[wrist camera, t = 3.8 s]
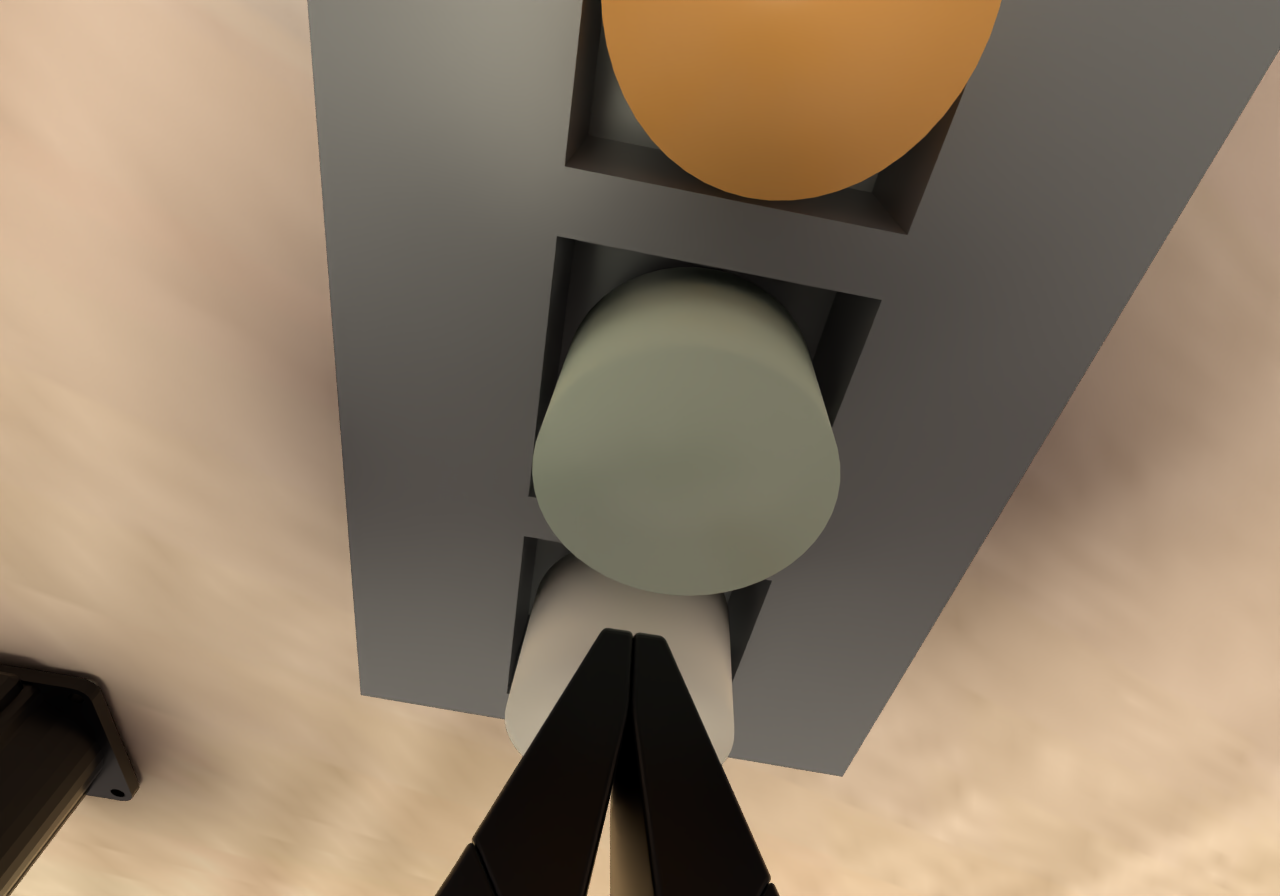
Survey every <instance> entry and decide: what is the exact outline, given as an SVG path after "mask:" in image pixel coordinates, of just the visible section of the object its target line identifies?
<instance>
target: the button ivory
mask: <svg viewBox="0 0 1280 896" xmlns="http://www.w3.org/2000/svg"><path fill="white" fill-rule="evenodd" d="M604 628H613V629H620V630H627V631H630V632H631V633H632V634H633V636H634V635H635V634H636V633H639V632H640V633H647V634H654V635H660V636H662V637H664V638H665V639H666V641H667V643H668V645H669V647H670V650H671V652H672V654H673V657H674V659H675V661H676V663H677V666H678V668H679V670H680V672H681V675H682V677H683V679H684V681H685V684H686V686H687V688H688V690H689V693H690V695H691V697H692V700H693V702H694V704H695V706H696V709H697V711H698V713H699V715H700V718H701V720H702V722H703V724H704V727H705V729H706V731H707V734H708V736H709V738H710V740H711V743H712V745H713V747H714V749H715V752H716V754H717V756H718V758H719V761H720V763H721V765H722V764H723V763H724V761H725V760H726V759H727V757H728V755H729V753H730V752H731V749H732V746H733V742H734V713H733V692H732V672H731V651H730V630H729V612H728V604H727V601H726V598H725V595H724V593H717V594H710V595H696V596H683V595H668V594H660V593H654V592H649V591H645V590H641V589H637V588H634V587H631V586H628V585H625V584H622V583H619V582H617V581H615V580H613V579H611V578H608V577H606V576H604V575H602V574H601V573H599V572H597V571H596V570H594V569H592V568H590V567H589V566H588V565H586V564H585V563H584V562H582V561H581V560H580V559H578V558H577V557H576V556H575V555H574V554H573V553H572V552H571V553H570V554H568V555H566V556H565V557H563V558H561V559H560V560H559V561H558V562H556V563H555V564H554V565H553V566H552V567H551V568H550V569H549V570H548V571H547V572H546V574H545V575H544V577H543V578H542V580H541V582H540V584H539V586H538V589H537V593H536V596H535V600H534V604H533V608H532V611H531V615H530V619H529V622H528V626H527V630H526V634H525V637H524V641H523V645H522V649H521V652H520V656H519V660H518V664H517V667H516V671H515V675H514V679H513V682H512V686H511V690H510V694H509V697H508V701H507V705H506V710H505V725H506V730H507V733H508V735H509V737H510V740H511V741H512V743H513V745H514V746H515V748H516V749H517V750H518V751H519V753H520V754H521V755H522V756H524V754H525V752H526V751H527V749H528V748H529V746H530V744H531V743H532V741H533V740H534V738H535V736H536V735H537V733H538V732H539V730H540V728H541V727H542V725H543V723H544V722H545V720H546V719H547V717H548V715H549V714H550V712H551V711H552V709H553V707H554V706H555V704H556V703H557V701H558V699H559V698H560V696H561V695H562V693H563V691H564V690H565V688H566V687H567V685H568V683H569V682H570V680H571V678H572V677H573V675H574V674H575V672H576V670H577V669H578V667H579V666H580V664H581V662H582V661H583V659H584V658H585V656H586V654H587V653H588V651H589V650H590V648H591V646H592V645H593V643H594V642H595V640H596V638H597V637H598V635H599V634H600V632H601V631H602V630H603V629H604Z"/></svg>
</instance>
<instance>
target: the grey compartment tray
mask: <svg viewBox="0 0 1280 896" xmlns="http://www.w3.org/2000/svg"><path fill="white" fill-rule="evenodd" d="M307 1H308V14H309V27H310V40H311V53H312V66H313V79H314V92H315V105H316V118H317V131H318V144H319V157H320V170H321V183H322V196H323V209H324V222H325V235H326V248H327V261H328V274H329V287H330V300H331V313H332V326H333V339H334V352H335V365H336V378H337V391H338V404H339V417H340V430H341V443H342V456H343V469H344V482H345V495H346V508H347V521H348V534H349V547H350V560H351V573H352V586H353V599H354V612H355V625H356V638H357V651H358V664H359V677H360V690H361V695H364V696H370V697H376V698H382V699H388V700H394V701H400V702H405V703H411V704H417V705H423V706H429V707H435V708H441V709H447V710H453V711H458V712H464V713H470V714H476V715H482V716H488V717H494V718H500V719H505V710H506V705H507V701H508V697H509V694H510V690H511V686H512V682H513V679H514V675H515V671H516V667H517V664H518V660H519V656H520V652H521V649H522V645H523V641H524V637H525V634H526V630H527V626H528V622H529V619H530V615H531V611H532V608H533V604H534V600H535V596H536V593H537V589H538V586H539V584H540V582H541V580H542V578H543V577H544V575H545V574H546V572H547V571H548V570H549V569H550V568H551V567H552V566H553V565H554V564H555V563H556V562H558V561H559V560H560V559H561V558H563V557H565V556H566V555H568V554H570V553H571V552H570V551H569V550H568V549H567V548H566V547H565V546H564V545H563V544H562V542H561V541H560V540H559V539H558V538H557V536H556V535H555V534H554V533H553V531H552V529H551V528H550V526H549V525H548V523H547V522H546V520H545V518H544V516H543V513H542V511H541V509H540V507H539V504H538V501H537V497H536V494H535V491H534V483H533V476H532V467H533V454H534V449H535V444H536V440H537V437H538V435H539V432H540V429H541V426H542V423H543V420H544V418H545V415H546V412H547V409H548V406H549V404H550V401H551V398H552V395H553V392H554V390H555V387H556V384H557V381H558V378H559V376H560V373H561V370H562V367H563V364H564V362H565V359H566V356H567V353H568V350H569V348H570V345H571V342H572V339H573V337H574V335H575V333H576V331H577V329H578V327H579V325H580V323H581V322H582V320H583V319H584V318H585V316H586V315H587V314H588V312H589V311H590V310H591V309H592V308H593V307H594V306H595V305H596V304H597V303H598V302H599V301H600V300H601V299H602V298H603V297H604V296H606V295H607V294H608V293H610V292H611V291H612V290H613V289H615V288H617V287H618V286H620V285H622V284H624V283H625V282H627V281H629V280H631V279H634V278H636V277H639V276H641V275H643V274H646V273H650V272H654V271H658V270H662V269H669V268H677V267H700V268H708V269H715V270H719V271H723V272H727V273H731V274H734V275H736V276H738V277H741V278H743V279H746V280H748V281H750V282H752V283H753V284H755V285H757V286H759V287H760V288H762V289H764V290H765V291H766V292H767V293H769V294H770V295H771V296H773V297H774V298H775V299H776V300H777V301H778V302H779V303H780V304H781V305H782V306H783V307H784V308H785V309H786V310H787V311H788V312H789V314H790V315H791V317H792V318H793V319H794V321H795V322H796V323H797V325H798V327H799V329H800V331H801V333H802V335H803V337H804V339H805V342H806V345H807V348H808V351H809V355H810V358H811V361H812V365H813V368H814V371H815V375H816V378H817V381H818V385H819V388H820V391H821V395H822V398H823V401H824V405H825V408H826V411H827V415H828V418H829V421H830V424H831V428H832V431H833V434H834V438H835V441H836V444H837V448H838V454H839V460H840V486H839V492H838V498H837V501H836V504H835V507H834V510H833V513H832V515H831V517H830V519H829V521H828V522H827V524H826V526H825V528H824V530H823V531H822V532H821V534H820V535H819V537H818V538H817V539H816V541H815V542H814V543H813V544H812V545H811V546H810V547H809V548H808V549H807V550H806V552H805V553H804V554H802V555H801V556H800V557H799V558H798V559H796V560H795V561H794V562H793V563H792V564H790V565H789V566H787V567H786V568H784V569H782V570H781V571H779V572H778V573H776V574H774V575H772V576H770V577H768V578H766V579H764V580H762V581H760V582H757V583H755V584H752V585H749V586H747V587H744V588H740V589H736V590H732V591H728V592H723V593H724V595H725V598H726V601H727V604H728V612H729V630H730V651H731V672H732V692H733V713H734V742H733V746H732V749H731V752H730V753H729V755H728V757H730V758H735V759H741V760H747V761H753V762H759V763H765V764H771V765H777V766H783V767H789V768H794V769H800V770H806V771H812V772H818V773H824V774H830V775H836V776H843V775H844V773H845V771H846V770H847V768H848V766H849V765H850V763H851V761H852V760H853V758H854V756H855V755H856V753H857V751H858V750H859V748H860V746H861V745H862V743H863V741H864V740H865V738H866V736H867V735H868V733H869V731H870V730H871V728H872V726H873V725H874V723H875V721H876V720H877V718H878V717H879V715H880V713H881V712H882V710H883V708H884V707H885V705H886V703H887V702H888V700H889V698H890V697H891V695H892V693H893V692H894V690H895V688H896V687H897V685H898V683H899V682H900V680H901V678H902V677H903V675H904V673H905V672H906V670H907V668H908V667H909V665H910V663H911V662H912V660H913V658H914V657H915V655H916V653H917V652H918V650H919V648H920V647H921V645H922V643H923V642H924V640H925V638H926V637H927V635H928V633H929V632H930V630H931V628H932V627H933V625H934V623H935V622H936V620H937V618H938V617H939V615H940V613H941V612H942V610H943V608H944V607H945V605H946V603H947V602H948V600H949V598H950V597H951V595H952V593H953V592H954V590H955V588H956V587H957V585H958V583H959V582H960V580H961V578H962V577H963V575H964V573H965V572H966V570H967V569H968V567H969V565H970V564H971V562H972V560H973V559H974V557H975V555H976V554H977V552H978V550H979V549H980V547H981V545H982V544H983V542H984V540H985V539H986V537H987V535H988V534H989V532H990V530H991V529H992V527H993V525H994V524H995V522H996V520H997V519H998V517H999V515H1000V514H1001V512H1002V510H1003V509H1004V507H1005V505H1006V504H1007V502H1008V500H1009V499H1010V497H1011V495H1012V494H1013V492H1014V490H1015V489H1016V487H1017V485H1018V484H1019V482H1020V480H1021V479H1022V477H1023V475H1024V474H1025V472H1026V470H1027V469H1028V467H1029V465H1030V464H1031V462H1032V460H1033V459H1034V457H1035V455H1036V454H1037V452H1038V450H1039V449H1040V447H1041V445H1042V444H1043V442H1044V440H1045V439H1046V437H1047V435H1048V434H1049V432H1050V430H1051V429H1052V427H1053V426H1054V424H1055V422H1056V421H1057V419H1058V417H1059V416H1060V414H1061V412H1062V411H1063V409H1064V407H1065V406H1066V404H1067V402H1068V401H1069V399H1070V397H1071V396H1072V394H1073V392H1074V391H1075V389H1076V387H1077V386H1078V384H1079V382H1080V381H1081V379H1082V377H1083V376H1084V374H1085V372H1086V371H1087V369H1088V367H1089V366H1090V364H1091V362H1092V361H1093V359H1094V357H1095V356H1096V354H1097V352H1098V351H1099V349H1100V347H1101V346H1102V344H1103V342H1104V341H1105V339H1106V337H1107V336H1108V334H1109V332H1110V331H1111V329H1112V327H1113V326H1114V324H1115V322H1116V321H1117V319H1118V317H1119V316H1120V314H1121V312H1122V311H1123V309H1124V307H1125V306H1126V304H1127V302H1128V301H1129V299H1130V297H1131V296H1132V294H1133V292H1134V291H1135V289H1136V287H1137V286H1138V284H1139V282H1140V281H1141V279H1142V278H1143V276H1144V274H1145V273H1146V271H1147V269H1148V268H1149V266H1150V264H1151V263H1152V261H1153V259H1154V258H1155V256H1156V254H1157V253H1158V251H1159V249H1160V248H1161V246H1162V244H1163V243H1164V241H1165V239H1166V238H1167V236H1168V234H1169V233H1170V231H1171V229H1172V228H1173V226H1174V224H1175V223H1176V221H1177V219H1178V218H1179V216H1180V214H1181V213H1182V211H1183V209H1184V208H1185V206H1186V204H1187V203H1188V201H1189V199H1190V198H1191V196H1192V194H1193V193H1194V191H1195V189H1196V188H1197V186H1198V184H1199V183H1200V181H1201V179H1202V178H1203V176H1204V174H1205V173H1206V171H1207V169H1208V168H1209V166H1210V164H1211V163H1212V161H1213V159H1214V158H1215V156H1216V154H1217V153H1218V151H1219V149H1220V148H1221V146H1222V144H1223V143H1224V141H1225V139H1226V138H1227V136H1228V135H1229V133H1230V131H1231V130H1232V128H1233V126H1234V125H1235V123H1236V121H1237V120H1238V118H1239V116H1240V115H1241V113H1242V111H1243V110H1244V108H1245V106H1246V105H1247V103H1248V101H1249V100H1250V98H1251V96H1252V95H1253V93H1254V91H1255V90H1256V88H1257V86H1258V85H1259V83H1260V81H1261V80H1262V78H1263V76H1264V75H1265V73H1266V71H1267V70H1268V68H1269V66H1270V65H1271V63H1272V61H1273V60H1274V58H1275V56H1276V55H1277V53H1278V51H1279V50H1280V0H1001V4H1000V8H999V11H998V14H997V17H996V20H995V23H994V26H993V29H992V32H991V35H990V38H989V40H988V42H987V44H986V47H985V49H984V51H983V53H982V55H981V57H980V60H979V62H978V64H977V66H976V68H975V70H974V71H973V73H972V75H971V76H970V78H969V80H968V81H967V83H966V85H965V87H964V88H963V90H962V92H961V93H960V94H959V96H958V97H957V98H956V100H955V101H954V103H953V104H952V105H951V107H950V108H949V109H948V111H947V112H946V113H945V115H944V116H943V117H942V118H941V119H940V120H939V121H938V123H937V124H936V125H935V126H934V127H933V128H932V129H931V130H930V131H929V132H928V134H927V135H926V136H925V137H924V138H923V139H921V140H920V141H919V142H918V143H917V144H916V145H915V146H914V147H912V148H911V149H910V150H909V151H908V152H907V153H906V154H904V155H903V156H902V157H900V158H899V159H897V160H896V161H895V162H893V163H892V164H890V165H889V166H888V167H886V168H885V169H883V170H882V171H880V172H878V173H876V174H874V175H872V176H871V177H869V178H867V179H865V180H863V181H862V182H859V183H857V184H854V185H852V186H849V187H847V188H845V189H842V190H840V191H837V192H833V193H829V194H825V195H822V196H818V197H814V198H806V199H799V200H775V201H769V200H762V199H754V198H747V197H743V196H739V195H736V194H732V193H728V192H725V191H723V190H720V189H718V188H716V187H713V186H711V185H709V184H706V183H704V182H703V181H701V180H699V179H698V178H696V177H694V176H693V175H691V174H689V173H688V172H686V171H685V170H684V169H682V168H681V167H680V166H679V165H677V164H676V163H675V162H674V161H672V160H671V159H670V158H669V157H667V156H666V154H665V153H664V152H663V151H662V150H661V149H660V148H659V147H658V146H657V145H656V144H655V143H654V142H653V141H652V140H651V139H650V137H649V136H648V134H647V133H646V132H645V130H644V129H643V128H642V126H641V125H640V123H639V122H638V121H637V119H636V118H635V116H634V114H633V112H632V110H631V108H630V107H629V105H628V103H627V101H626V99H625V98H624V96H623V93H622V91H621V88H620V86H619V83H618V81H617V78H616V76H615V73H614V70H613V67H612V63H611V59H610V56H609V52H608V48H607V45H606V38H605V32H604V25H603V19H602V3H601V0H307Z"/></svg>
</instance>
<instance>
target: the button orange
mask: <svg viewBox="0 0 1280 896" xmlns="http://www.w3.org/2000/svg"><path fill="white" fill-rule="evenodd" d="M601 3H602V19H603V25H604V32H605V38H606V45H607V48H608V52H609V56H610V59H611V63H612V67H613V70H614V73H615V76H616V78H617V81H618V83H619V86H620V88H621V91H622V93H623V96H624V98H625V99H626V101H627V103H628V105H629V107H630V108H631V110H632V112H633V114H634V116H635V118H636V119H637V121H638V122H639V123H640V125H641V126H642V128H643V129H644V130H645V132H646V133H647V134H648V136H649V137H650V139H651V140H652V141H653V142H654V143H655V144H656V145H657V146H658V147H659V148H660V149H661V150H662V151H663V152H664V153H665V154H666V156H667V157H669V158H670V159H671V160H672V161H674V162H675V163H676V164H677V165H679V166H680V167H681V168H682V169H684V170H685V171H686V172H688V173H689V174H691V175H693V176H694V177H696V178H698V179H699V180H701V181H703V182H704V183H706V184H709V185H711V186H713V187H716V188H718V189H720V190H723V191H725V192H728V193H732V194H736V195H739V196H743V197H747V198H754V199H762V200H769V201H775V200H799V199H806V198H814V197H818V196H822V195H825V194H829V193H833V192H837V191H840V190H842V189H845V188H847V187H849V186H852V185H854V184H857V183H859V182H862V181H863V180H865V179H867V178H869V177H871V176H872V175H874V174H876V173H878V172H880V171H882V170H883V169H885V168H886V167H888V166H889V165H890V164H892V163H893V162H895V161H896V160H897V159H899V158H900V157H902V156H903V155H904V154H906V153H907V152H908V151H909V150H910V149H911V148H912V147H914V146H915V145H916V144H917V143H918V142H919V141H920V140H921V139H923V138H924V137H925V136H926V135H927V134H928V132H929V131H930V130H931V129H932V128H933V127H934V126H935V125H936V124H937V123H938V121H939V120H940V119H941V118H942V117H943V116H944V115H945V113H946V112H947V111H948V109H949V108H950V107H951V105H952V104H953V103H954V101H955V100H956V98H957V97H958V96H959V94H960V93H961V92H962V90H963V88H964V87H965V85H966V83H967V81H968V80H969V78H970V76H971V75H972V73H973V71H974V70H975V68H976V66H977V64H978V62H979V60H980V57H981V55H982V53H983V51H984V49H985V47H986V44H987V42H988V40H989V38H990V35H991V32H992V29H993V26H994V23H995V20H996V17H997V14H998V11H999V8H1000V4H1001V0H601Z"/></svg>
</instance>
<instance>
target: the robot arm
mask: <svg viewBox="0 0 1280 896" xmlns="http://www.w3.org/2000/svg"><path fill="white" fill-rule="evenodd" d="M138 789H139V783H138V780H137V778H136V775H135V773H134V770H133V768H132V766H131V763H130V761H129V758H128V756H127V753H126V751H125V748H124V746H123V743H122V741H121V738H120V736H119V734H118V731H117V729H116V726H115V724H114V721H113V719H112V716H111V714H110V711H109V709H108V707H107V704H106V702H105V699H104V697H103V694H102V692H101V690H100V688H99V687H98V686H97V685H96V684H94V683H93V682H91V681H89V680H87V679H83V678H79V677H73V676H67V675H61V674H55V673H49V672H43V671H37V670H31V669H25V668H19V667H13V666H7V665H1V664H0V896H10V895H11V893H12V892H13V891H14V889H15V888H16V887H17V885H18V884H19V883H20V881H21V880H22V879H23V877H24V876H25V875H26V873H27V872H28V871H29V870H30V868H31V867H32V866H33V864H34V863H35V862H36V860H37V859H38V858H39V856H40V855H41V854H42V852H43V851H44V850H45V848H46V847H47V846H48V844H49V843H50V842H51V840H52V839H53V838H54V837H55V835H56V834H57V833H58V831H59V830H60V829H61V827H62V826H63V825H64V823H65V822H66V821H67V819H68V818H69V817H70V815H71V814H72V813H73V811H74V810H75V809H76V807H77V806H78V805H79V803H80V802H81V801H82V800H83V798H84V797H85V796H86V795H90V796H96V797H102V798H108V799H114V800H120V801H128V800H131V799H132V797H133V796H134V795H135V793H136V792H137V790H138ZM610 795H611V805H610V896H779V894H778V891H777V889H776V887H775V885H774V884H773V883H769V882H770V880H771V876H770V874H769V872H768V869H767V867H766V865H765V863H764V860H763V858H762V856H761V853H760V851H759V849H758V847H757V844H756V842H755V840H754V838H753V835H752V833H751V831H750V829H749V826H748V824H747V822H746V820H745V817H744V815H743V813H742V810H741V808H740V806H739V804H738V801H737V799H736V797H735V795H734V792H733V790H732V788H731V786H730V783H729V781H728V779H727V777H726V774H725V772H724V770H723V767H722V765H721V763H720V761H719V758H718V756H717V754H716V752H715V749H714V747H713V745H712V743H711V740H710V738H709V736H708V734H707V731H706V729H705V727H704V724H703V722H702V720H701V718H700V715H699V713H698V711H697V709H696V706H695V704H694V702H693V700H692V697H691V695H690V693H689V690H688V688H687V686H686V684H685V681H684V679H683V677H682V675H681V672H680V670H679V668H678V666H677V663H676V661H675V659H674V657H673V654H672V652H671V650H670V647H669V645H668V643H667V641H666V639H665V638H664V637H662V636H660V635H654V634H647V633H640V632H639V633H636V634H635V635H634V636H633V634H632V633H631V632H630V631H627V630H620V629H613V628H604V629H603V630H602V631H601V632H600V634H599V635H598V637H597V638H596V640H595V642H594V643H593V645H592V646H591V648H590V650H589V651H588V653H587V654H586V656H585V658H584V659H583V661H582V662H581V664H580V666H579V667H578V669H577V670H576V672H575V674H574V675H573V677H572V678H571V680H570V682H569V683H568V685H567V687H566V688H565V690H564V691H563V693H562V695H561V696H560V698H559V699H558V701H557V703H556V704H555V706H554V707H553V709H552V711H551V712H550V714H549V715H548V717H547V719H546V720H545V722H544V723H543V725H542V727H541V728H540V730H539V732H538V733H537V735H536V736H535V738H534V740H533V741H532V743H531V744H530V746H529V748H528V749H527V751H526V752H525V754H524V756H523V757H522V759H521V760H520V762H519V764H518V765H517V767H516V768H515V770H514V772H513V773H512V775H511V777H510V778H509V780H508V781H507V783H506V785H505V786H504V788H503V789H502V791H501V793H500V794H499V796H498V797H497V799H496V801H495V802H494V804H493V805H492V807H491V809H490V810H489V812H488V813H487V815H486V817H485V818H484V820H483V822H482V823H481V825H480V826H479V828H478V830H477V831H476V833H475V834H474V836H473V838H472V843H470V844H468V845H467V847H466V848H465V850H464V851H463V853H462V855H461V856H460V858H459V859H458V861H457V863H456V864H455V866H454V867H453V869H452V871H451V872H450V874H449V875H448V877H447V878H446V880H445V881H444V883H443V884H442V886H441V887H440V889H439V890H438V892H437V893H436V895H435V896H587V893H588V889H589V885H590V880H591V876H592V872H593V868H594V863H595V859H596V855H597V851H598V846H599V842H600V838H601V834H602V829H603V825H604V821H605V817H606V812H607V808H608V804H609V799H610Z"/></svg>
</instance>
